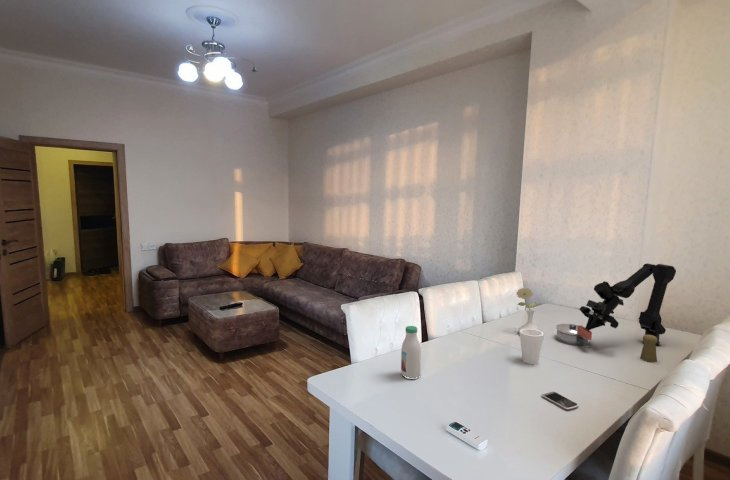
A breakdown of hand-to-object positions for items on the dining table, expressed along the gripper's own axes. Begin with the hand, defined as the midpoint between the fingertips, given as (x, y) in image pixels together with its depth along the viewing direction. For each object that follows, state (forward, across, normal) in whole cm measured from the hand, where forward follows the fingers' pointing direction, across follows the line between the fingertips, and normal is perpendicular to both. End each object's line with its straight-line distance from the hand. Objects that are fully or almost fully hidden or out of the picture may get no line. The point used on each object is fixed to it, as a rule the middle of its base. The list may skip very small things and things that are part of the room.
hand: (586, 329), depth 180 cm
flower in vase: (+18, -22, -4) cm, 29 cm away
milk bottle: (+70, +12, -57) cm, 91 cm away
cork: (-6, +16, +20) cm, 26 cm away
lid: (+3, -6, +3) cm, 8 cm away
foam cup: (+31, +8, -18) cm, 37 cm away
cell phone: (+39, +40, -25) cm, 61 cm away
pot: (+6, -8, +7) cm, 12 cm away
